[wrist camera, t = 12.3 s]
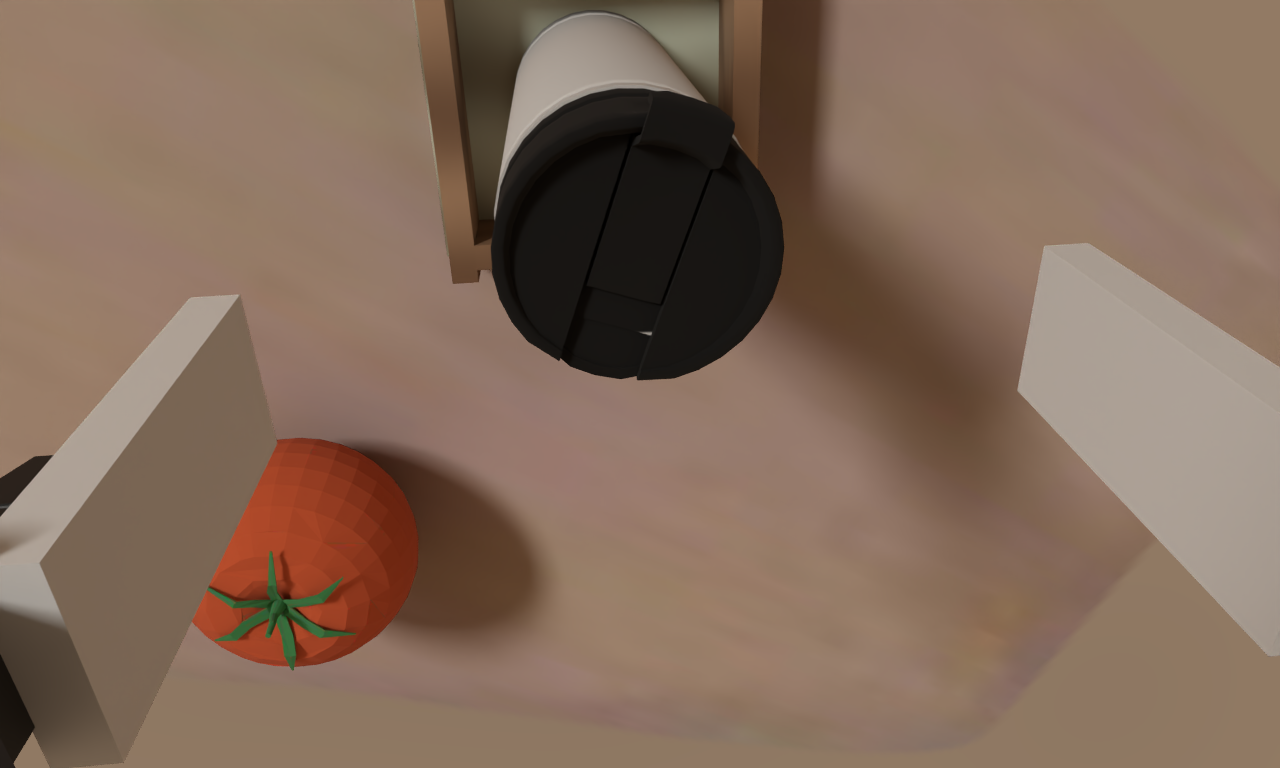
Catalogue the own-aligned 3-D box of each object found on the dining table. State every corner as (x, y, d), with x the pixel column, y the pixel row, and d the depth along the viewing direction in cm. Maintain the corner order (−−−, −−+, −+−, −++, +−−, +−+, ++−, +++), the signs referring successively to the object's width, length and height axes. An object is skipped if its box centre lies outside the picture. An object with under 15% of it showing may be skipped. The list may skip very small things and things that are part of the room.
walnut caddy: (403, -90, 34) (387, -88, 30) (756, -103, 35) (780, -103, 31) (449, 250, 40) (440, 284, 36) (748, 231, 41) (767, 263, 37)
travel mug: (698, 30, 36) (847, 152, 18) (645, 191, 39) (730, 434, 21) (541, -24, 34) (536, 52, 17) (497, 147, 37) (454, 368, 20)
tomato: (228, 576, 47) (155, 734, 38) (193, 397, 42) (100, 531, 33) (435, 572, 48) (410, 725, 39) (423, 397, 43) (392, 527, 34)
